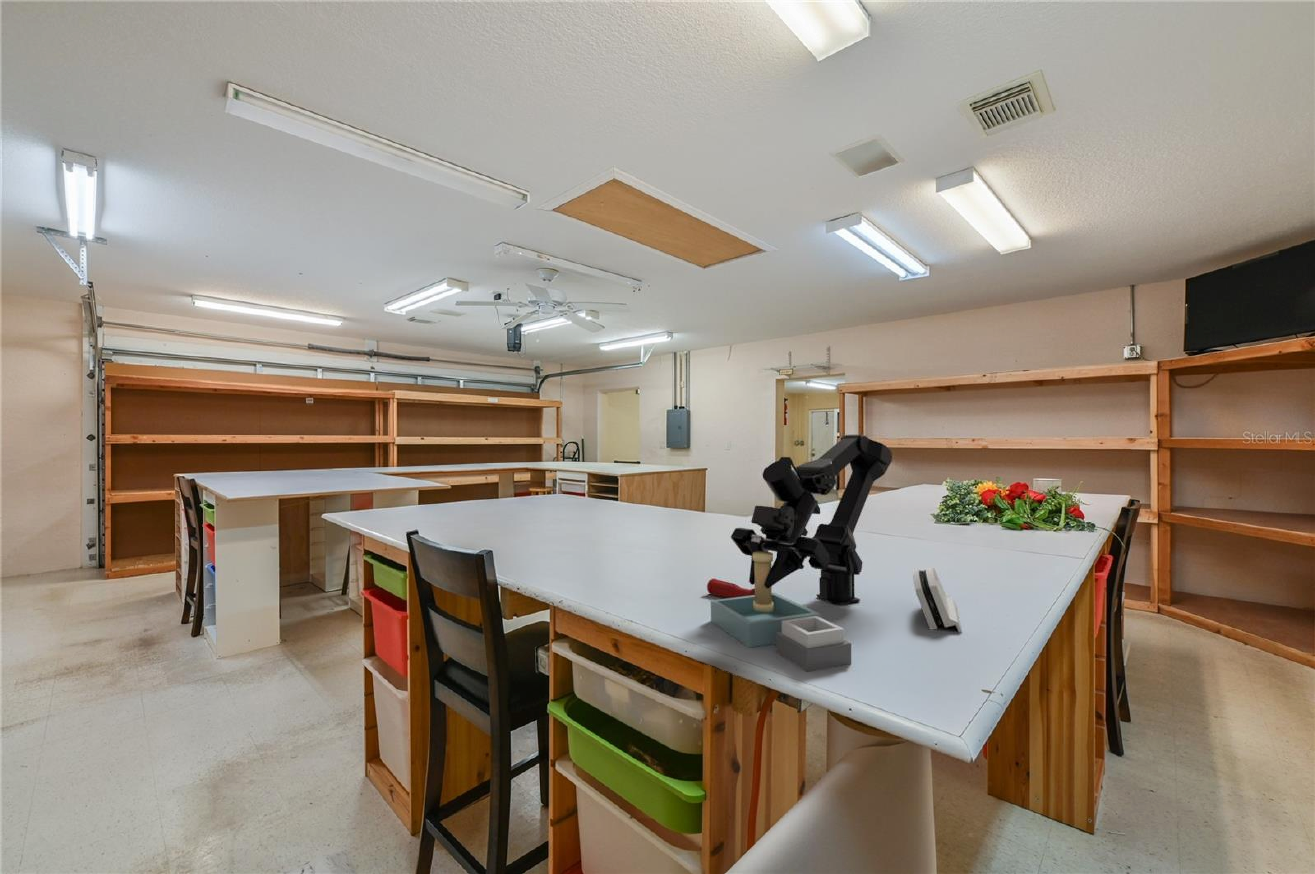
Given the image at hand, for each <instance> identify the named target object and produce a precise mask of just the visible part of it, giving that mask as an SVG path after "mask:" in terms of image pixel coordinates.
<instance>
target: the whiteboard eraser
mask: <svg viewBox="0 0 1315 874" xmlns="http://www.w3.org/2000/svg"><path fill="white" fill-rule="evenodd" d="M912 580H913V585H914V591H915V594H916V597H917V599H918V601H919V603H920V607H921V609H922V611H923V615H924V617H925V620H926V622H927V625H928V627H929V629H930V628H932V629H931V630H937V629H938V628H939V627H940V625H941V626H942V627H943V626H944V628H949V627H953V626H955V627H956V629H957V631H958V633H959V634H963V630H962V625H961V620H959V619H960V615H959V610H958V607H957V604H956V602H955V599H954V598H953V597H951V596H948V595H947V594H946V593H945V590H944V587H943V586H942V583H941V581H940V578H939V575H938V573H937V571H936V569H935V568H934V567H926V568H925V570H921V569H918V570H916V571H913V573H912Z"/></svg>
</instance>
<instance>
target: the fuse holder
mask: <svg viewBox="0 0 1315 874" xmlns="http://www.w3.org/2000/svg"><path fill="white" fill-rule="evenodd" d="M775 652H776V653H777V654H779V655H781V656H782V657H783V658H786V659H787V660H788V661H789V662H791V663H793V664H794V665H796V666H797V667H799V668H800V669H802V670H804V671H805V672H812V671H818V670H822V669H830V668H833V667H838V666H844V665H849V664H852V643H851V642H850V641H847V640H846V639H845V629H844V628H843V627H841V626H839V625H836V624H835V623H832V622H830V621H828V620H827V619H824V618H822V617H821V616H820V617H818V616H811V617H804V618H797V619H791V620H784V621H782V632H776V643H775Z"/></svg>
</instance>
